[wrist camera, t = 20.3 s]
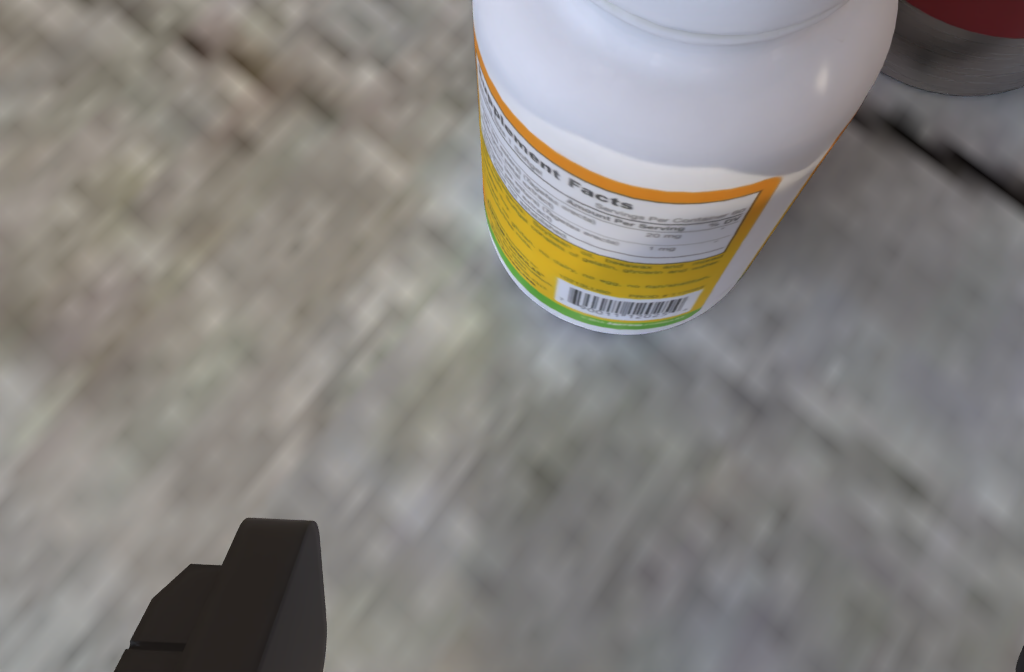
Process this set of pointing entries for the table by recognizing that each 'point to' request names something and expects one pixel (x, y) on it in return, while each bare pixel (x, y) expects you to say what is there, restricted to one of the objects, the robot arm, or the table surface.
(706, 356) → the table surface
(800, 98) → the supplement bottle
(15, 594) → the table surface
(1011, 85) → the burgundy tin
